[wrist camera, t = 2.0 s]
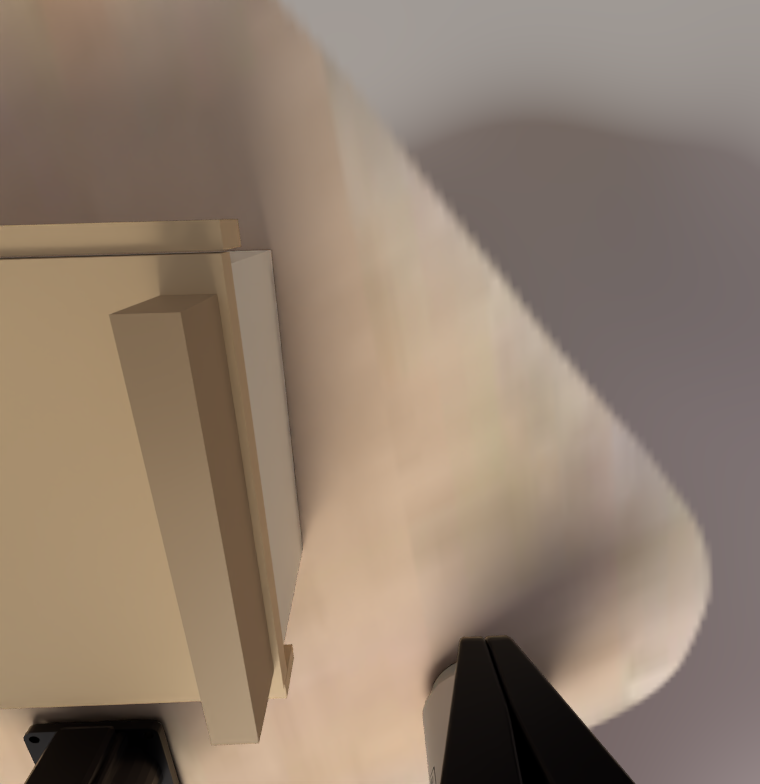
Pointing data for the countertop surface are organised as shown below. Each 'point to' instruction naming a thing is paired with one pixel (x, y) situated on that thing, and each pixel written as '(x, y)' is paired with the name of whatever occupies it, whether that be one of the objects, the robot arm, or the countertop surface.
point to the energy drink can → (438, 721)
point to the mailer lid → (132, 478)
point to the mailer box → (268, 415)
